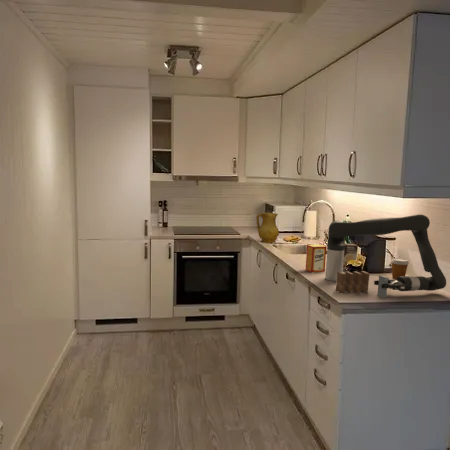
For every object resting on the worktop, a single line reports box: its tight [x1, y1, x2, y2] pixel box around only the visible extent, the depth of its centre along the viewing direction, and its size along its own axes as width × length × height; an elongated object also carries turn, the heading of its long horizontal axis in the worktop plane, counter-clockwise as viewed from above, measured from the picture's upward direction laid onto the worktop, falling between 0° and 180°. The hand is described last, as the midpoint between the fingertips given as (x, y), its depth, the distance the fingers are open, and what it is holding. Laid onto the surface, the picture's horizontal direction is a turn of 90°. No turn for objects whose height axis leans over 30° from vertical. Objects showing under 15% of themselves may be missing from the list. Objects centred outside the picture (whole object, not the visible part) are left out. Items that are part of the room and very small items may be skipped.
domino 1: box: [335, 272, 345, 294], centre depth 217 cm, size 2×5×10 cm, turn 14°
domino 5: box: [376, 274, 389, 299], centre depth 213 cm, size 2×5×10 cm, turn 14°
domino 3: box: [352, 270, 361, 294], centre depth 220 cm, size 2×5×10 cm, turn 14°
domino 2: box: [344, 270, 353, 294], centre depth 218 cm, size 2×5×10 cm, turn 14°
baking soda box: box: [305, 244, 327, 273], centre depth 262 cm, size 10×6×16 cm
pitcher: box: [256, 212, 280, 244], centre depth 365 cm, size 17×19×25 cm
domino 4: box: [360, 270, 370, 294], centre depth 221 cm, size 2×5×10 cm, turn 14°
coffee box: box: [343, 243, 359, 271], centre depth 270 cm, size 9×6×16 cm
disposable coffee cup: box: [390, 257, 410, 280], centre depth 248 cm, size 10×10×12 cm
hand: (378, 284), depth 212 cm, fingers open, 5 cm apart
